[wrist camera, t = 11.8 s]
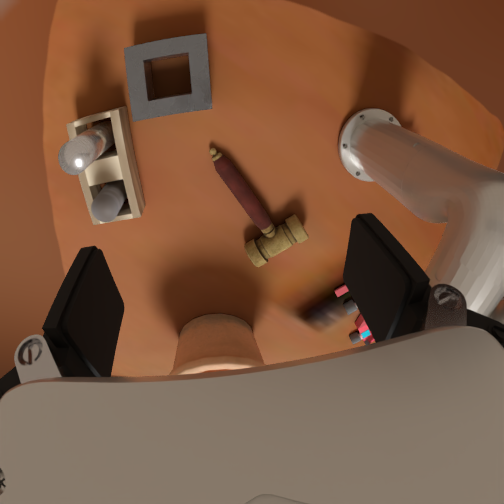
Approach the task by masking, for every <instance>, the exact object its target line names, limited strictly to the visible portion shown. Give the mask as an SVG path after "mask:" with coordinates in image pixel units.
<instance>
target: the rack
mask: <svg viewBox="0 0 504 504" xmlns="http://www.w3.org/2000/svg"><path fill="white" fill-rule="evenodd" d="M108 117H111V123H112V128H113V134H114V139H115V144H116V149H117V150H113V151H109V152H105V153H103V154H101V155H100V156H99V157H98V158H97V159H96V160H95V161H94V162H93V163H91V164H90V165H89V166H88V167H87V168H86V169H85V170H84V171H83V172H82V173H80V174H78V176H79V180H80V183H81V187H82V190H83V194H84V197H85V200H86V203H87V207H88V210H89V213H90V216H91V219H92V222H93V225H96V224H102V223H108V222H114V221H119V220H125V219H131V218H138V217H141V215H142V213H143V210H144V208H145V200H144V196H143V192H142V187H141V183H140V178H139V174H138V169H137V164H136V159H135V154H134V148H133V143H132V137H131V132H130V126H129V120H128V113H127V107H126V106H124V107H120V108H116V109H112V110H108V111H104V112H100V113H97V114H93V115H90V116H86V117H83V118H80V119H77V120H75V121H73V122H71V123H68V124H66V125H67V130H68V135H69V139H70V140H71V139H73V138H75V137H76V136H78V135H80V134H81V133H83V132H85V131H86V130H87V126H86V124H87V123H90V122H94V121H97V120H101V119H105V118H108ZM106 182H107V183H106ZM102 183H106V185H105V186H104V187H103V188H102V190H101V187H100V184H102ZM127 197H128V201H129V204H123V203H124V201H125V199H126V198H127Z"/></svg>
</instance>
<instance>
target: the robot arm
mask: <svg viewBox="0 0 504 504" xmlns="http://www.w3.org/2000/svg"><path fill="white" fill-rule="evenodd" d="M360 115H361V117H360ZM343 144H344V145H343ZM338 150H339V156H340V160H341V162H342V164H343V166H344V167H345V168H346V170H347V171H348V172H349V173H350V174H351V175H353V176H354V177H356V178H358V179H360V180H363V181H375V182H377V183H378V184H379V185H380V186H382V187H383V188H384V189H385V190H386V191H388V192H389V193H390V194H391V195H392V196H394V197H395V198H396V199H397V200H398V201H399V202H401V203H402V204H403V205H404V206H405V207H406V208H408V209H409V210H410V211H411V212H412V213H413V214H414V215H416V216H417V217H418V218H420V219H422V220H424V221H427V222H431V223H446V222H447V225H446V228H445V231H444V233H443V235H442V239H441V241H440V243H439V245H438V247H437V249H436V251H435V253H434V255H433V257H432V259H431V261H430V263H429V265H428V267H427V269H426V271H425V272H424V271H423V270H422V269H421V267H420V266H419V265H418V264H417V263H416V261H415V260H414V259H413V258H412V257H411V256H410V254H409V253H408V252H407V251H406V250H405V249H404V247H403V246H402V245H401V244H400V243H399V242H398V241H397V240H396V238H395V237H394V236H393V235H392V234H391V233H390V232H389V231H388V230H387V228H386V227H385V226H384V225H383V224H382V223H381V222H380V221H379V220H378V219H377V218H376V217H375V216H374V215H373V214H372V213H367V214H358V215H357V216H356V218H354V219H353V220H352V223H351V230H350V237H349V243H348V249H347V255H346V261H345V267H344V273H343V279H344V283H345V285H346V287H347V288H348V290H349V292H350V294H351V296H352V298H353V299H354V301H355V303H356V305H357V307H358V309H359V311H360V313H361V315H362V316H363V318H364V320H365V322H366V324H367V326H368V328H369V330H370V332H371V334H372V336H373V338H374V340H375V342H376V343H373V344H369V345H365V346H361V347H357V348H353V349H348V350H344V351H340V352H335V353H330V354H326V355H321V356H316V357H311V358H305V359H300V360H294V361H289V362H283V363H277V364H271V365H264V366H257V367H250V368H242V369H234V370H226V371H217V372H206V373H195V374H182V375H167V376H144V377H111V372H112V366H113V361H114V355H115V350H116V345H117V340H118V336H119V331H120V327H121V322H122V318H123V314H124V302H123V300H122V298H121V295H120V293H119V291H118V289H117V286H116V284H115V282H114V279H113V277H112V275H111V272H110V270H109V267H108V265H107V262H106V260H105V257H104V255H103V252H102V250H101V249H98V248H97V247H96V246H91V247H84V248H81V249H80V251H79V253H78V254H77V256H76V258H75V260H74V262H73V264H72V266H71V267H70V269H69V271H68V273H67V275H66V277H65V279H64V281H63V283H62V285H61V287H60V289H59V291H58V294H57V296H56V298H55V300H54V302H53V304H52V306H51V309H50V311H49V313H48V316H47V318H46V320H45V323H44V325H43V327H42V329H43V330H44V335H43V337H42V336H40V335H32V336H29V337H27V338H26V339H24V340H23V341H22V342H21V343H20V345H19V346H18V347H17V350H16V352H15V357H14V359H15V365H16V366H15V367H14V368H13V369H12V370H11V371H9V372H8V373H7V374H6V375H4V377H2V378H1V379H0V504H504V300H501V299H502V298H503V296H504V174H503V173H501V172H499V171H496V170H494V169H491V168H489V167H486V166H483V165H481V164H479V163H476V162H474V161H472V160H470V159H468V158H466V157H464V156H462V155H459V154H457V153H455V152H453V151H451V150H449V149H448V148H446V147H444V146H442V145H440V144H438V143H436V142H433V141H431V140H429V139H427V138H425V137H423V136H421V135H419V134H416V133H414V132H412V131H410V130H407V129H405V128H403V127H401V125H400V123H399V121H398V120H397V119H396V118H395V117H394V116H393V115H392V114H390V113H389V112H386V111H384V110H381V109H377V108H368V109H363V110H361V111H358V112H357V113H355V114H354V115H352V116H351V117H350V118H349V119H348V120H347V122H346V123H345V125H344V126H343V128H342V131H341V133H340V137H339V143H338Z"/></svg>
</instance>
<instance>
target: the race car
mask: <svg viewBox="0 0 504 504" xmlns="http://www.w3.org/2000/svg"><path fill="white" fill-rule="evenodd" d="M334 291H335V293H336V295H337V297H339V296H341V295H342V294H344V293H346V292H348V291H349V290H348V288H347V287H346V285H343V286H341V287H340V288H338V289H336V290H334ZM343 305H344V307H345V309H346V311H347V313H348V315H349V314H351V313H352V312H354V311H356V310H357V305H356V303H354V302H353V300H352V299H351V300H350V301H348V302H346V303H345V304H343ZM355 324H356V326H357V328H358V330H359V332H360V333H359V334H358V333H357V332H355V333H353V334H351V335H349V337H350V339H351V341H352V343H353V344H355V343H357V342H359V341H361V339H363V340H364V342H365V344H366V345H369V344H370V343H371V342H373V341H375V340H374V338H373V336H372V334H371V332H370V330H369V328H368V326H367V324H366V322H365V320H364V318H363V316H362V315H361V314H360V316H359V317H358V319H357V320H356V322H355Z"/></svg>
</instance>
